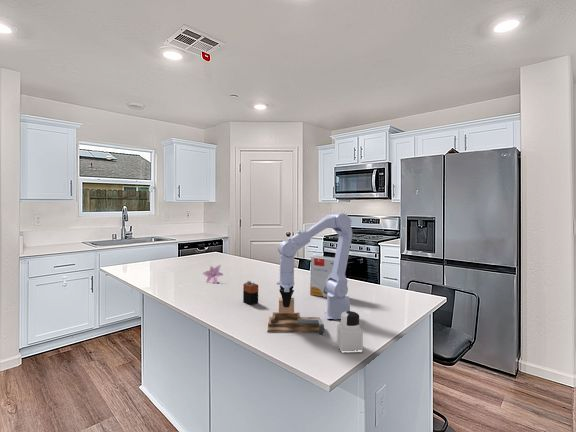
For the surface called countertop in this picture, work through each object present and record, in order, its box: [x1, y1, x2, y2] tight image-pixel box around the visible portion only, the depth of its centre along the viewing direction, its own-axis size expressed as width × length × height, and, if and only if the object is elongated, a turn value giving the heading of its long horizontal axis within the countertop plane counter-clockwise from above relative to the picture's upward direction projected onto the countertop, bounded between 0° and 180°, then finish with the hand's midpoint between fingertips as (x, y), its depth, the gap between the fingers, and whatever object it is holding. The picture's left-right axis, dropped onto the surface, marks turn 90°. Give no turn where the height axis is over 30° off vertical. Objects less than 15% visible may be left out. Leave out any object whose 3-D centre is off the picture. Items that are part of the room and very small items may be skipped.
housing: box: [267, 311, 321, 333], centre depth 128 cm, size 21×14×3 cm, turn 90°
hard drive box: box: [309, 255, 335, 298], centre depth 170 cm, size 16×8×20 cm, turn 62°
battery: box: [242, 280, 259, 306], centre depth 156 cm, size 4×7×10 cm, turn 44°
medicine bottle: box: [336, 310, 364, 351], centre depth 108 cm, size 7×7×12 cm
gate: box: [298, 318, 325, 335], centre depth 123 cm, size 9×8×3 cm
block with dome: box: [278, 297, 295, 313], centre depth 130 cm, size 6×4×6 cm, turn 90°
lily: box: [202, 264, 224, 285], centre depth 197 cm, size 12×12×10 cm
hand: (286, 305), depth 130 cm, fingers closed on block with dome, 4 cm apart
